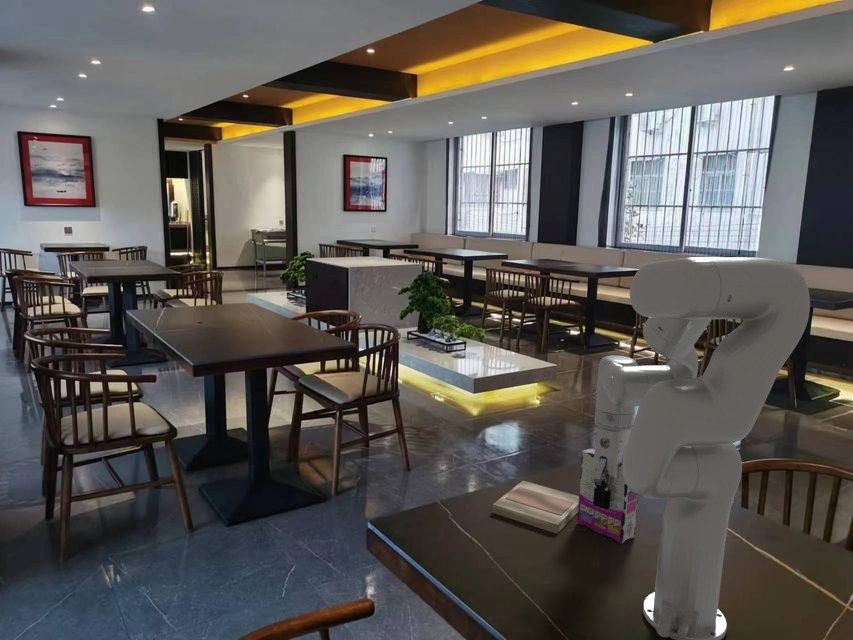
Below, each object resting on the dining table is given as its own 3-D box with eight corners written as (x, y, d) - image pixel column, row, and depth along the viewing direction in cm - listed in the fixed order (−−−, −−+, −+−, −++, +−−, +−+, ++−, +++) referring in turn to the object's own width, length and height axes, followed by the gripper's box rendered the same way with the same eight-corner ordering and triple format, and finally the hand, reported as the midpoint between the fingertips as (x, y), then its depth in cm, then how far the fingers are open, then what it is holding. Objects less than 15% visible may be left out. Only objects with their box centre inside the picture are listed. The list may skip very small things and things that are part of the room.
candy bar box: (636, 537, 128) (642, 461, 125) (622, 545, 125) (628, 467, 122) (590, 516, 136) (595, 444, 133) (575, 523, 133) (581, 449, 130)
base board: (557, 533, 129) (557, 523, 128) (492, 512, 137) (492, 503, 136) (583, 506, 141) (584, 497, 140) (522, 488, 149) (523, 479, 149)
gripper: (619, 434, 117) (612, 521, 120) (645, 410, 131) (638, 489, 134) (580, 425, 121) (574, 510, 124) (609, 403, 135) (603, 480, 138)
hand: (607, 499), depth 129 cm, fingers open, 7 cm apart
